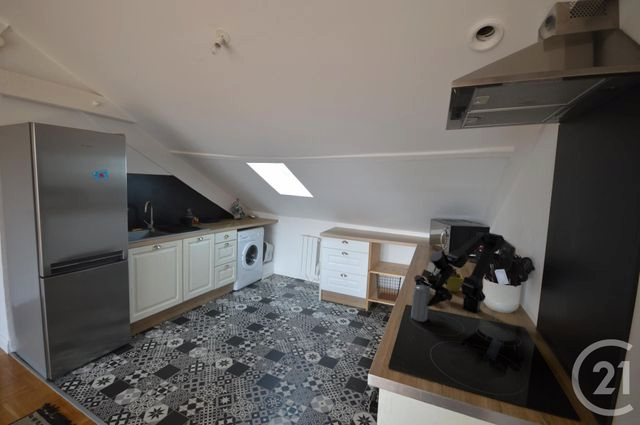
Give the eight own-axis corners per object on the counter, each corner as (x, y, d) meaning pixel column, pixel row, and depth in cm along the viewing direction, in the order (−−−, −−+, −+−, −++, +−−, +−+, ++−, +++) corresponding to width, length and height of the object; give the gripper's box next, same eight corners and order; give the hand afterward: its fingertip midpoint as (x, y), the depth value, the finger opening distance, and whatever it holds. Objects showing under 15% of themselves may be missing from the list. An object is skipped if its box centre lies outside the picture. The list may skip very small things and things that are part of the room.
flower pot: (461, 294, 155) (463, 278, 154) (444, 291, 158) (446, 276, 157) (459, 288, 163) (460, 274, 162) (442, 286, 166) (444, 271, 165)
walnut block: (436, 301, 144) (437, 292, 143) (434, 304, 140) (435, 295, 139) (426, 298, 146) (427, 289, 146) (424, 302, 142) (425, 292, 142)
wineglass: (433, 298, 147) (437, 265, 145) (420, 292, 154) (424, 260, 152) (443, 295, 152) (446, 263, 150) (429, 290, 159) (433, 259, 156)
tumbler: (429, 319, 124) (432, 288, 122) (421, 322, 120) (424, 291, 118) (416, 313, 129) (419, 283, 127) (408, 316, 125) (411, 286, 123)
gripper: (419, 258, 132) (397, 282, 129) (450, 270, 115) (426, 299, 112) (430, 273, 136) (409, 296, 133) (462, 287, 119) (439, 315, 116)
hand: (420, 301), depth 124 cm, fingers open, 9 cm apart
